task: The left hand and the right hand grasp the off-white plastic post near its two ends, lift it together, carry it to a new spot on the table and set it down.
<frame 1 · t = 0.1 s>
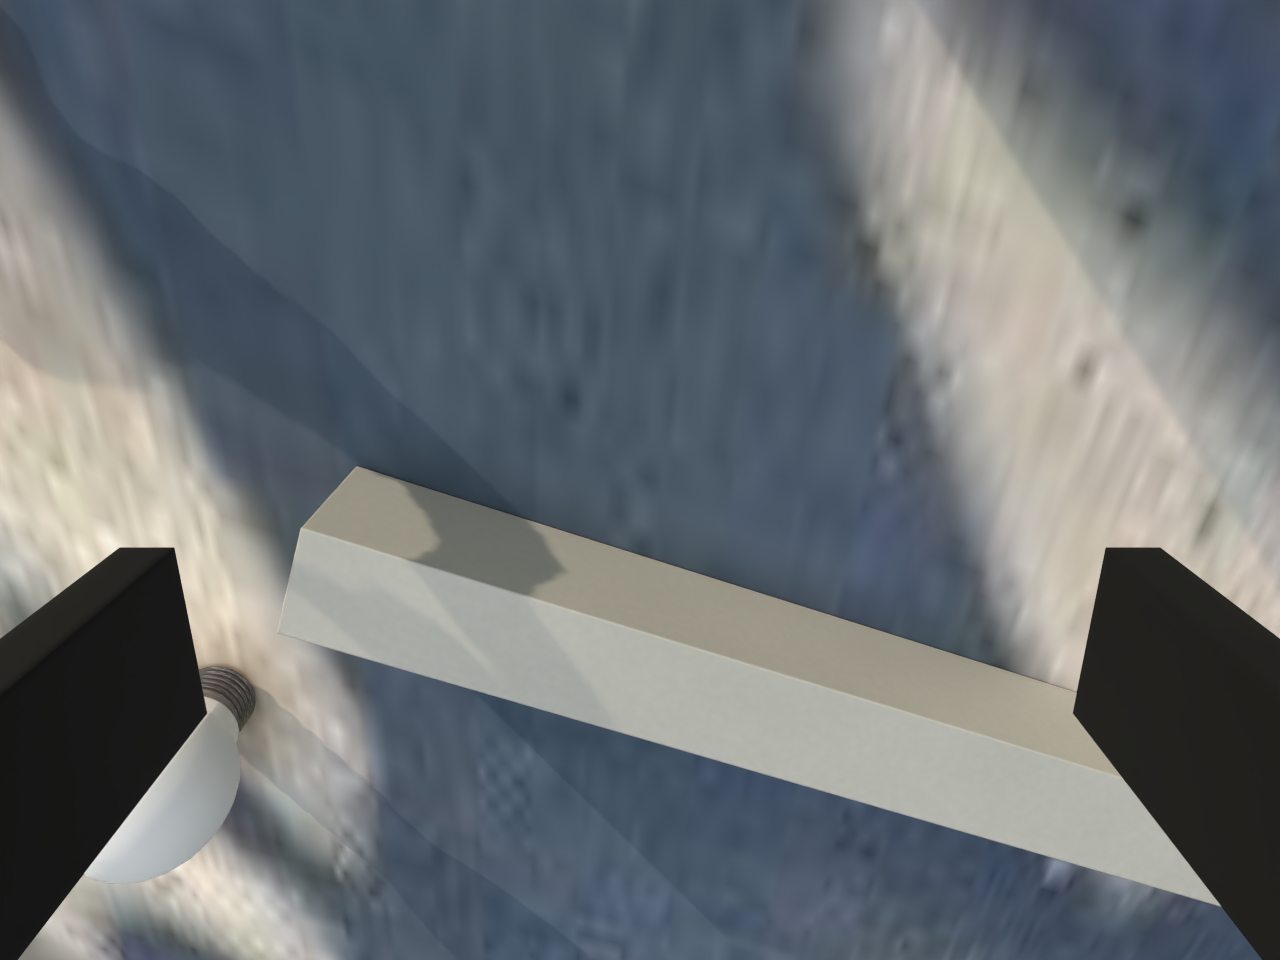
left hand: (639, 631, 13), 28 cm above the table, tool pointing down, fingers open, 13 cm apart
light bulb: (221, 698, 46), on the table
post: (851, 667, 45), on the table
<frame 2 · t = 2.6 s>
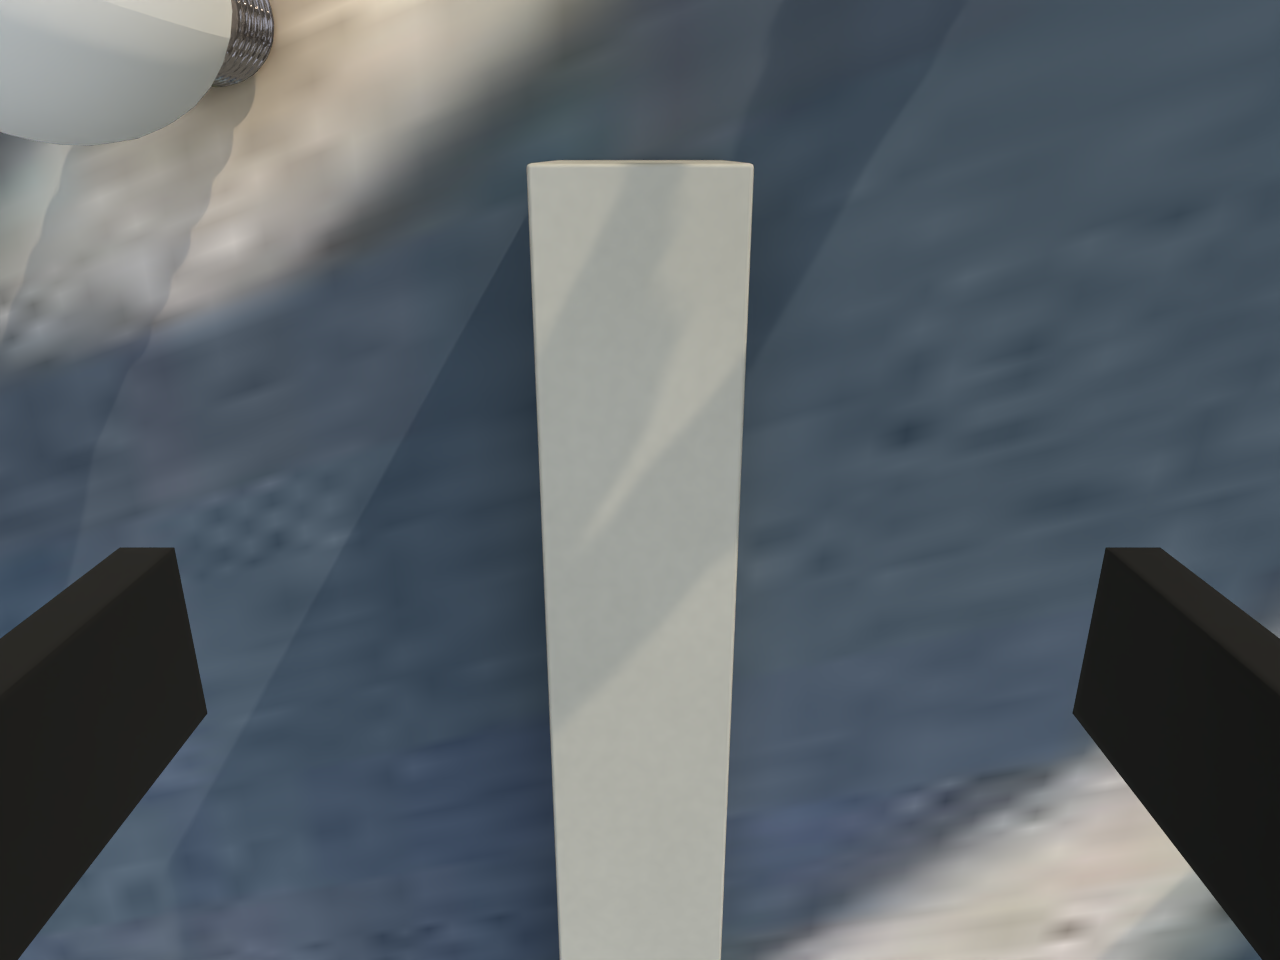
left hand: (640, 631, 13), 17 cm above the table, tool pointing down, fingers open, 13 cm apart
light bulb: (199, 19, 25), on the table
post: (640, 861, 35), on the table, touching right hand
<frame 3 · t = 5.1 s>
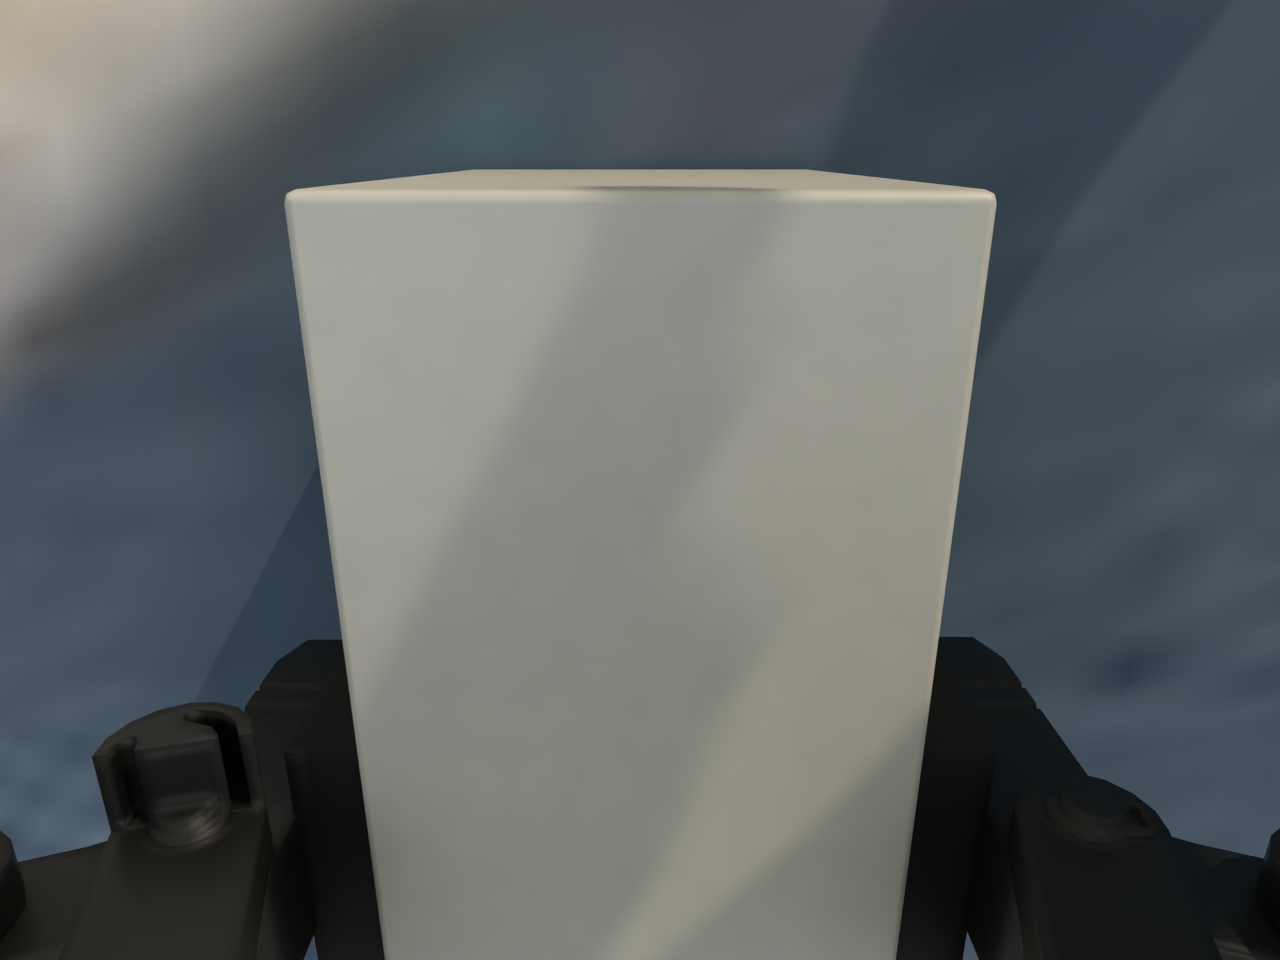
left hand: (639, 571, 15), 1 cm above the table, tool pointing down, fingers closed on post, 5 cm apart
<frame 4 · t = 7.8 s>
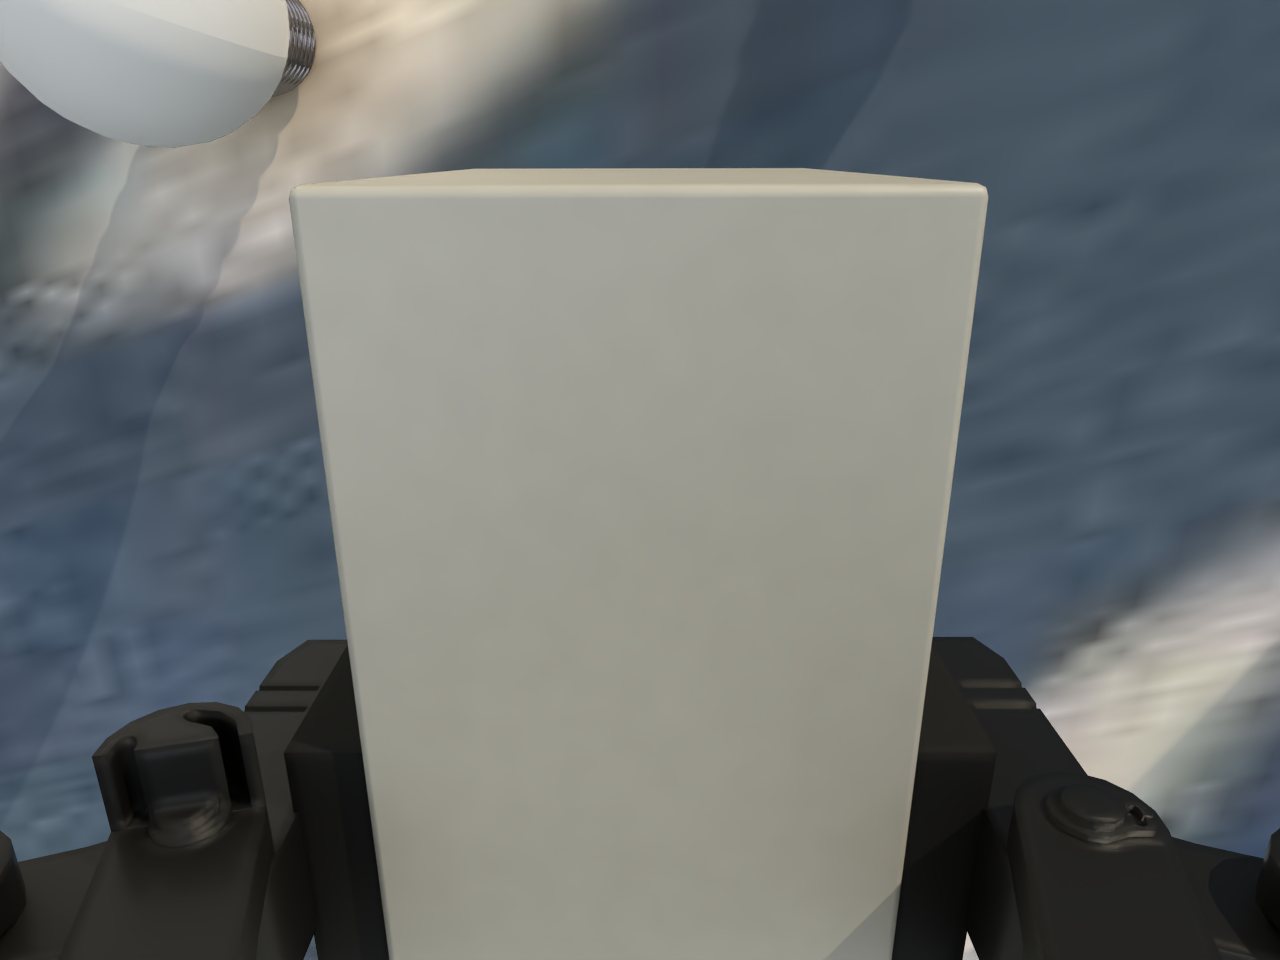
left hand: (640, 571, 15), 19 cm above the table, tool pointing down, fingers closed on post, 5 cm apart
light bulb: (251, 38, 29), on the table
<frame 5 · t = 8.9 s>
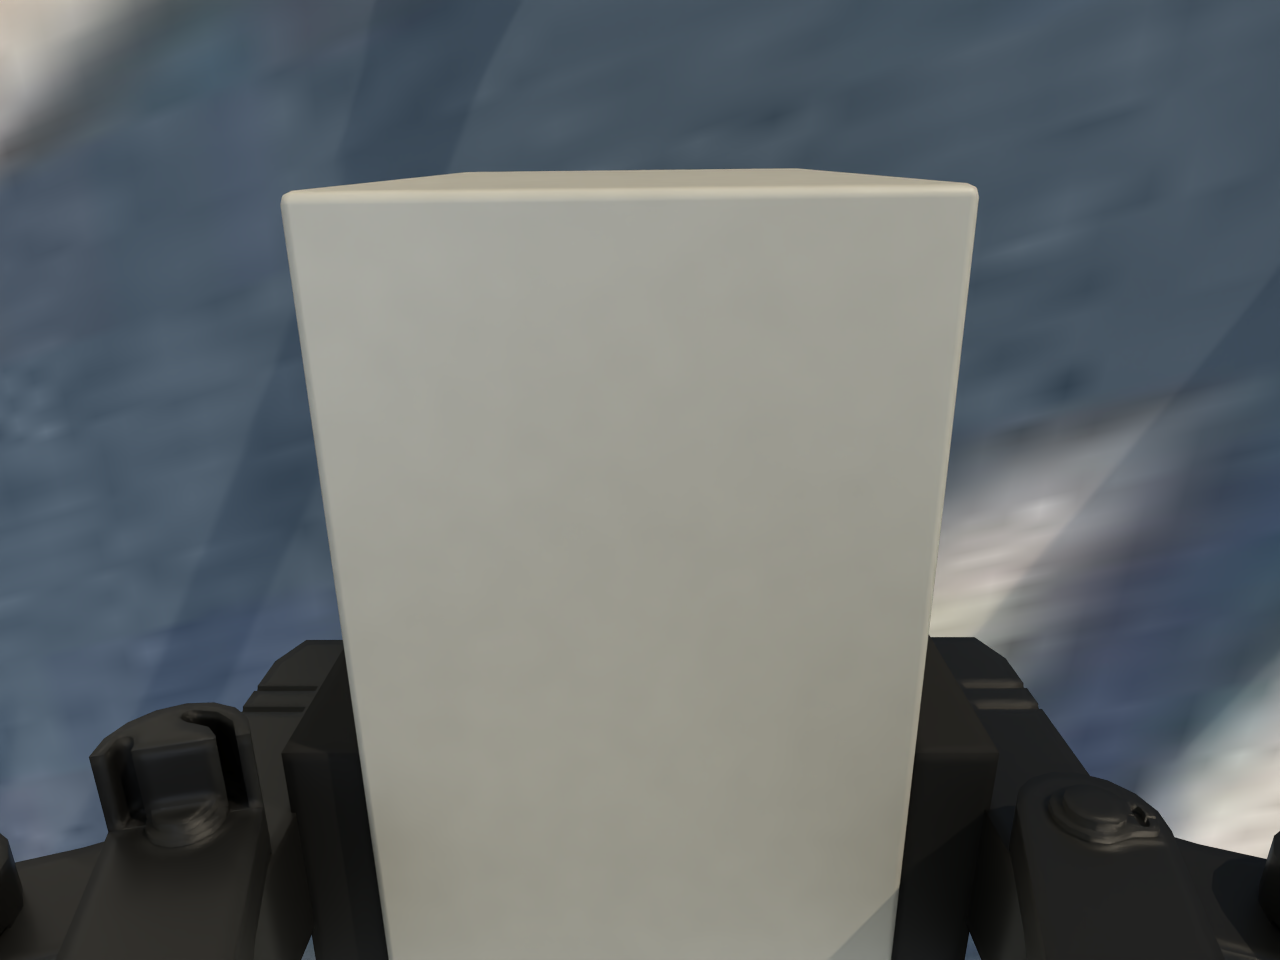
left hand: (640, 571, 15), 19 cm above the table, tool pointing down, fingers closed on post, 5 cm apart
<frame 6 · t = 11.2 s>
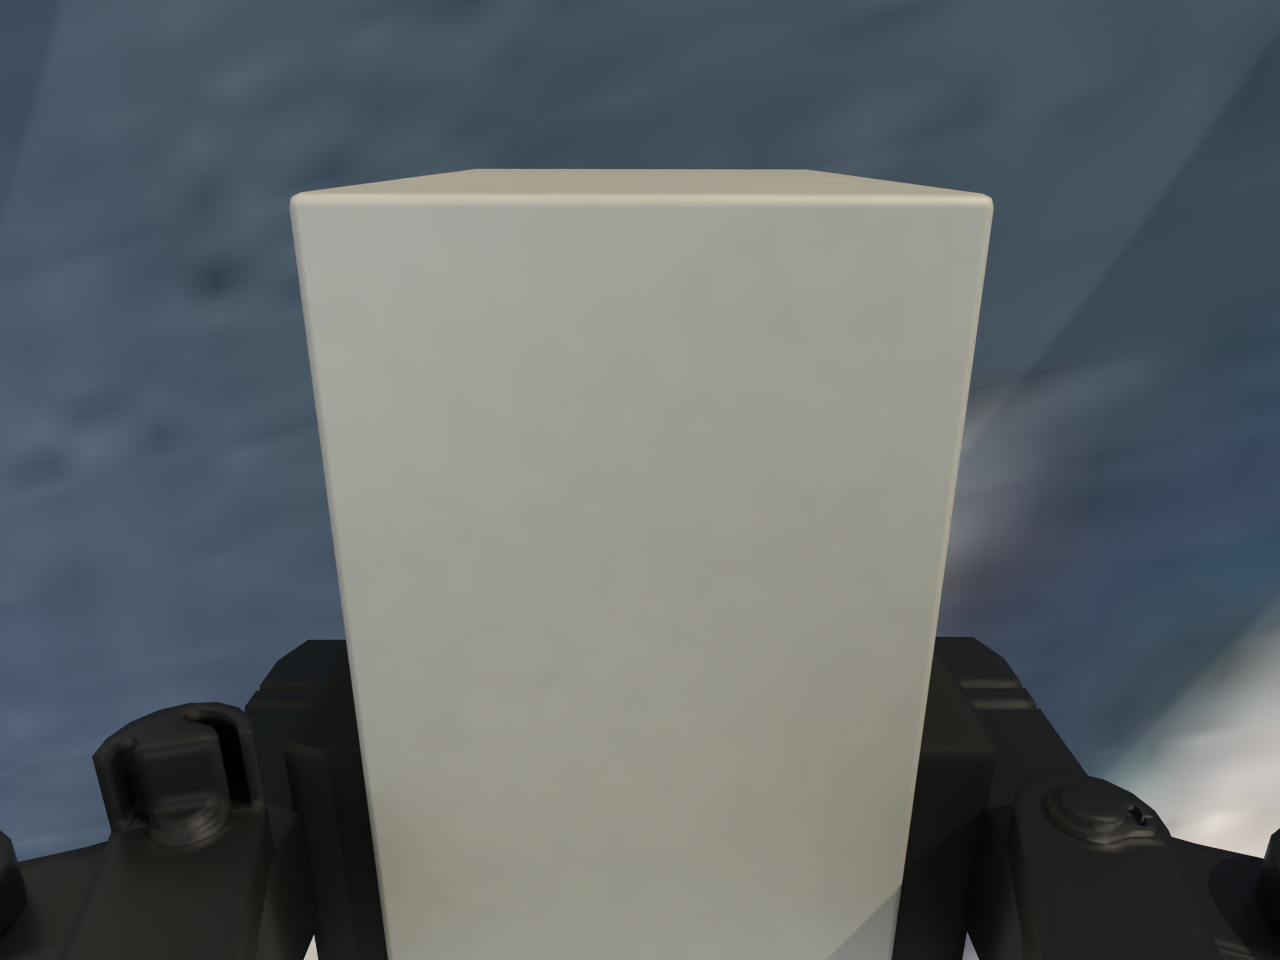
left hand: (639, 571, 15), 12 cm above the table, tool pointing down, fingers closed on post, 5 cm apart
when the left hand's fingers open (2 cm above the table, at t = 12.9 s): post drops 1 cm, on the table.
when the right hand's fingers open (4 cm above the table, at t = 13.1 s): post stays where it is, on the table.
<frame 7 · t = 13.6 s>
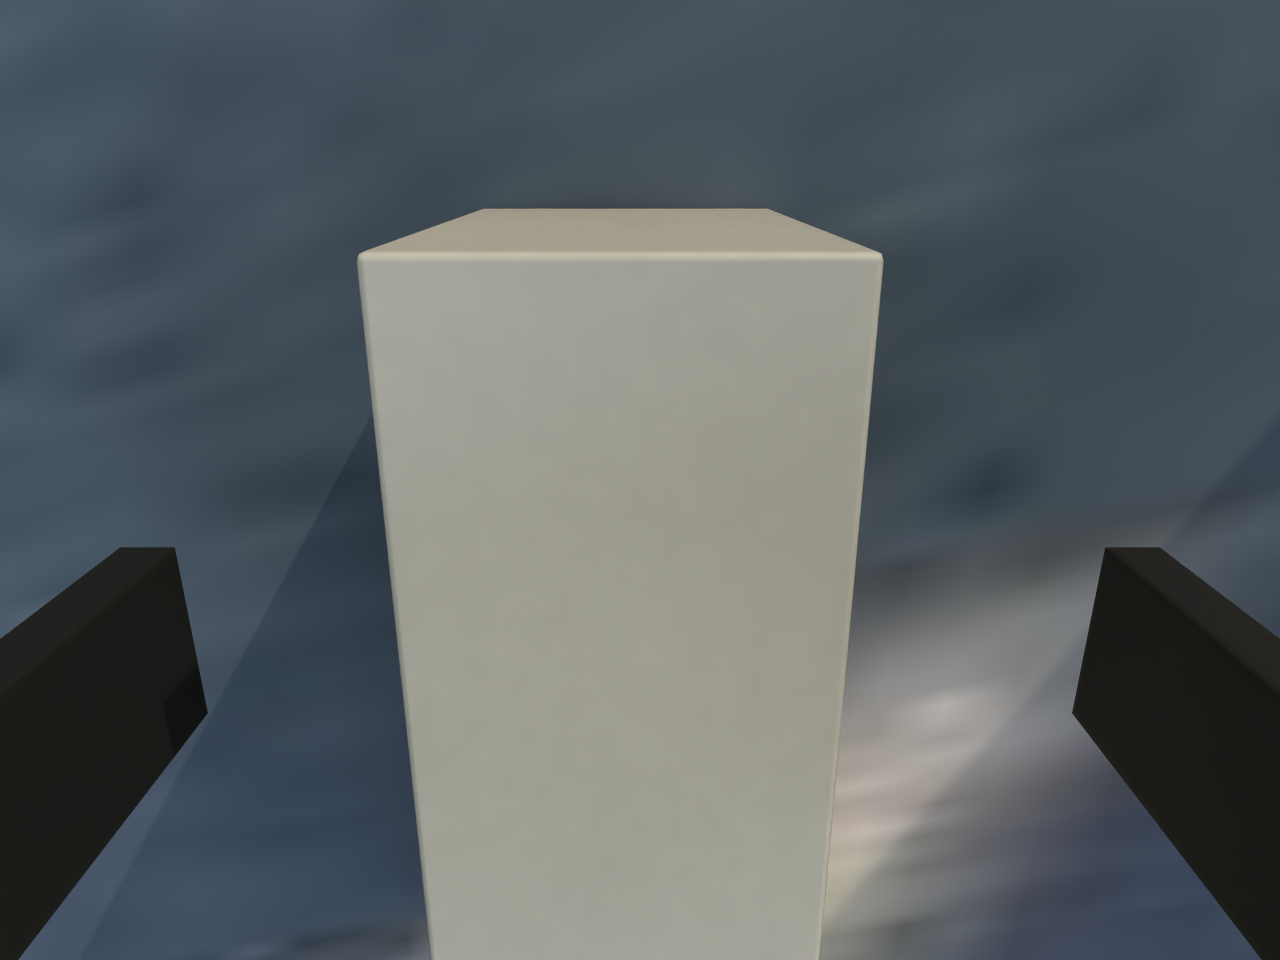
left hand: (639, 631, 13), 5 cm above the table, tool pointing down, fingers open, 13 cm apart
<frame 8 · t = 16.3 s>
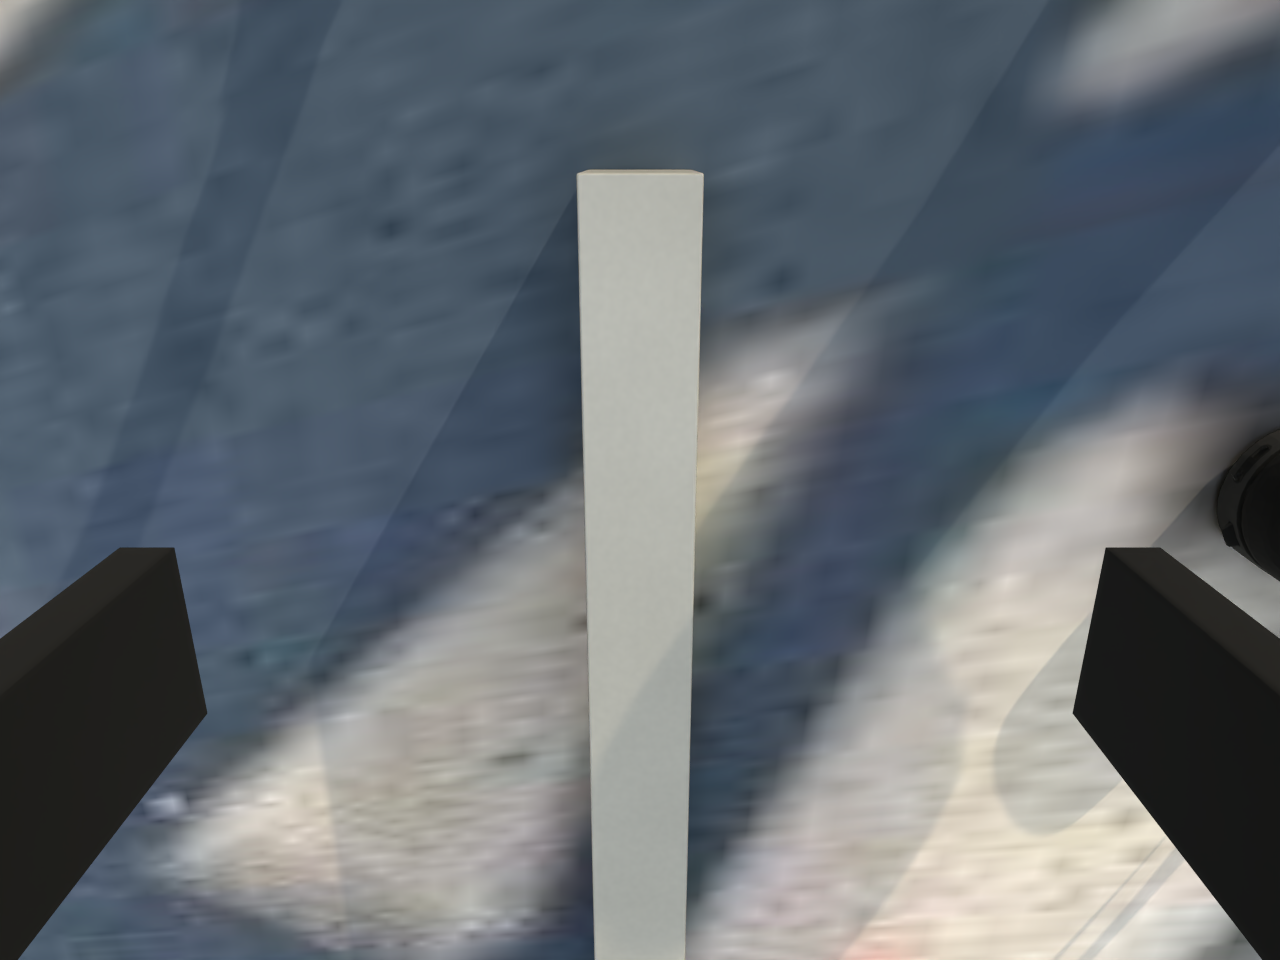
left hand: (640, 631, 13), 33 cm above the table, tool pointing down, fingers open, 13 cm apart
post: (639, 657, 51), on the table
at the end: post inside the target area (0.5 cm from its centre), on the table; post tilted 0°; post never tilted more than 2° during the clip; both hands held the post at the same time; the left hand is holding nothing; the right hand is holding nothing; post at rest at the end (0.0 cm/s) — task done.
